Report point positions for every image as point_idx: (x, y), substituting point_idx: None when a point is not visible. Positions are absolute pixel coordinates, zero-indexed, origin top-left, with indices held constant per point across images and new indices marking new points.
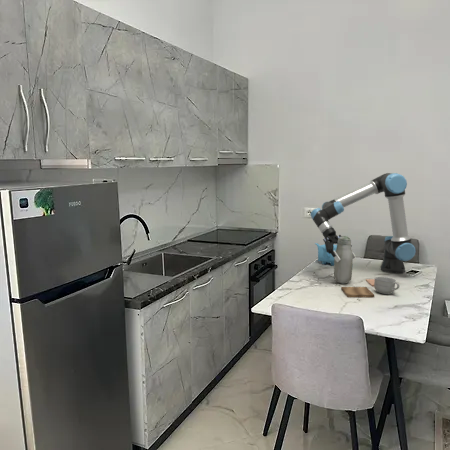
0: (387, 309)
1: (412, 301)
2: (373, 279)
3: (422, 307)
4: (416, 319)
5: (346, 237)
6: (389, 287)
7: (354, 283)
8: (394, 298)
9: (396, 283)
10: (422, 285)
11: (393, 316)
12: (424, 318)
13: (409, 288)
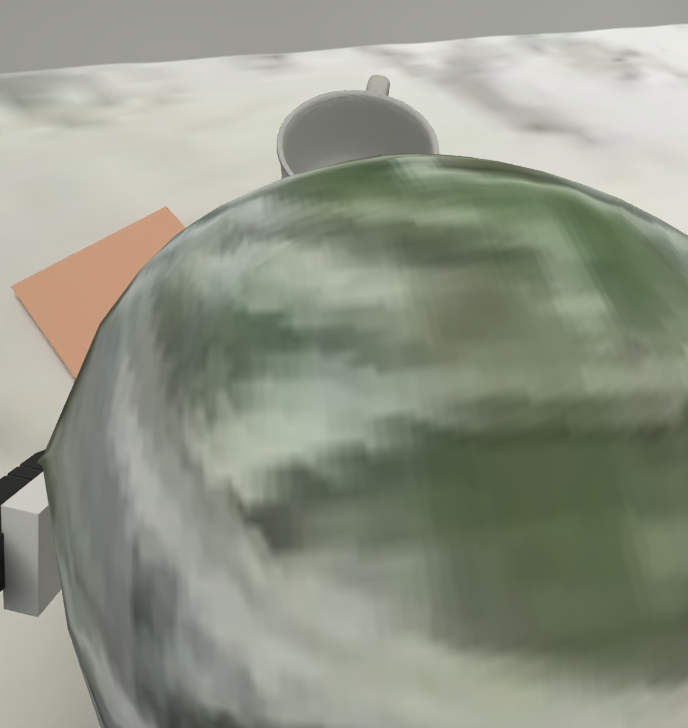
0: (612, 142)
1: (400, 90)
2: (75, 360)
3: (454, 51)
4: (616, 48)
5: (586, 193)
6: (398, 144)
7: None
8: None
9: (388, 84)
10: (21, 100)
11: (667, 107)
12: (580, 32)
13: (148, 139)
